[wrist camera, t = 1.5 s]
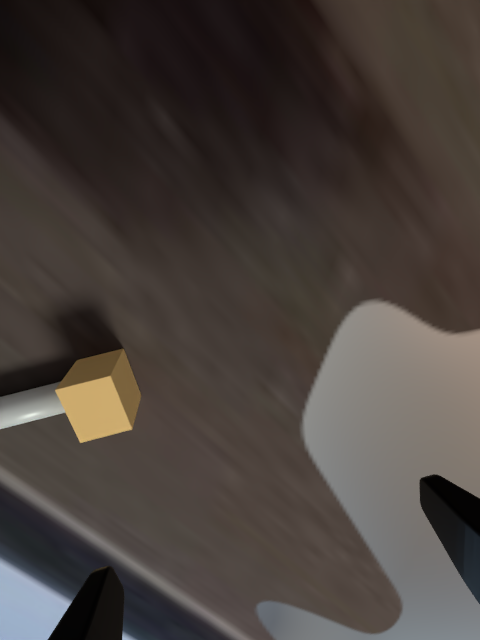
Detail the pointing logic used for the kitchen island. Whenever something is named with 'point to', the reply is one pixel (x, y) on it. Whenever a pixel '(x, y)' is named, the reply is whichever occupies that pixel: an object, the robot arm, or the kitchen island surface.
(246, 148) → the kitchen island surface
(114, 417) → the dumbbell shaped bar
